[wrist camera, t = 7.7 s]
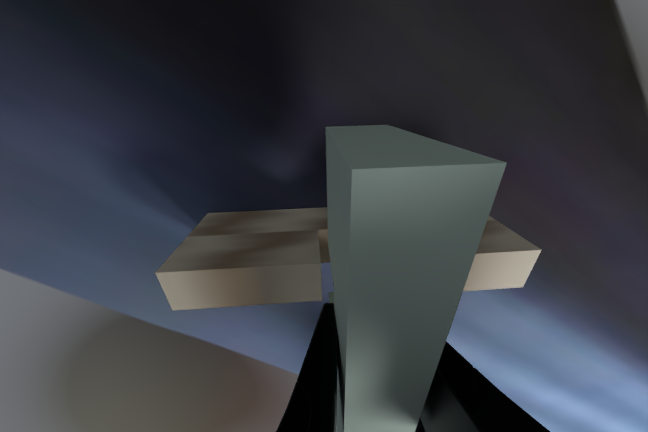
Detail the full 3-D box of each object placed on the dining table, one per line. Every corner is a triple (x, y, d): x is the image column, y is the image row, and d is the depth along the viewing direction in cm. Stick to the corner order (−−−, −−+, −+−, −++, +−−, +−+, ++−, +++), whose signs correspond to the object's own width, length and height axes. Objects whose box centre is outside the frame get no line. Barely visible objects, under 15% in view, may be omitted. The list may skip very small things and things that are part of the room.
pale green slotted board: (325, 126, 9) (352, 169, 3) (387, 124, 9) (506, 163, 4) (330, 352, 15) (342, 489, 10) (366, 349, 15) (397, 484, 10)
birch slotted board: (465, 200, 16) (541, 250, 11) (456, 229, 17) (522, 287, 12) (207, 213, 15) (154, 272, 10) (216, 242, 17) (172, 310, 11)
